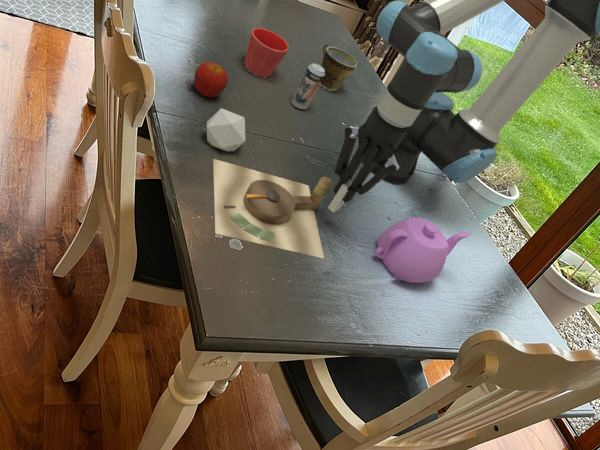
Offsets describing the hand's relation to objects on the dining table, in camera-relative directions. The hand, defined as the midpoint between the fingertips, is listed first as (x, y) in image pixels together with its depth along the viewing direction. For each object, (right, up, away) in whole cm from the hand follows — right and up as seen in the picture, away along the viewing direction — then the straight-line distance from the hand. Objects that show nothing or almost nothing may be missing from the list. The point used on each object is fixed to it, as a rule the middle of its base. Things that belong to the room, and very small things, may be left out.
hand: (333, 208), depth 118 cm
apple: (-30, +28, +20) cm, 46 cm away
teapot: (+16, -12, +6) cm, 21 cm away
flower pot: (-19, +39, +41) cm, 60 cm away
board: (-14, -1, -2) cm, 14 cm away
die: (-24, +14, +7) cm, 29 cm away
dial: (-11, 0, -2) cm, 11 cm away
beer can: (-7, +28, +36) cm, 47 cm away
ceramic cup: (0, +39, +54) cm, 67 cm away
